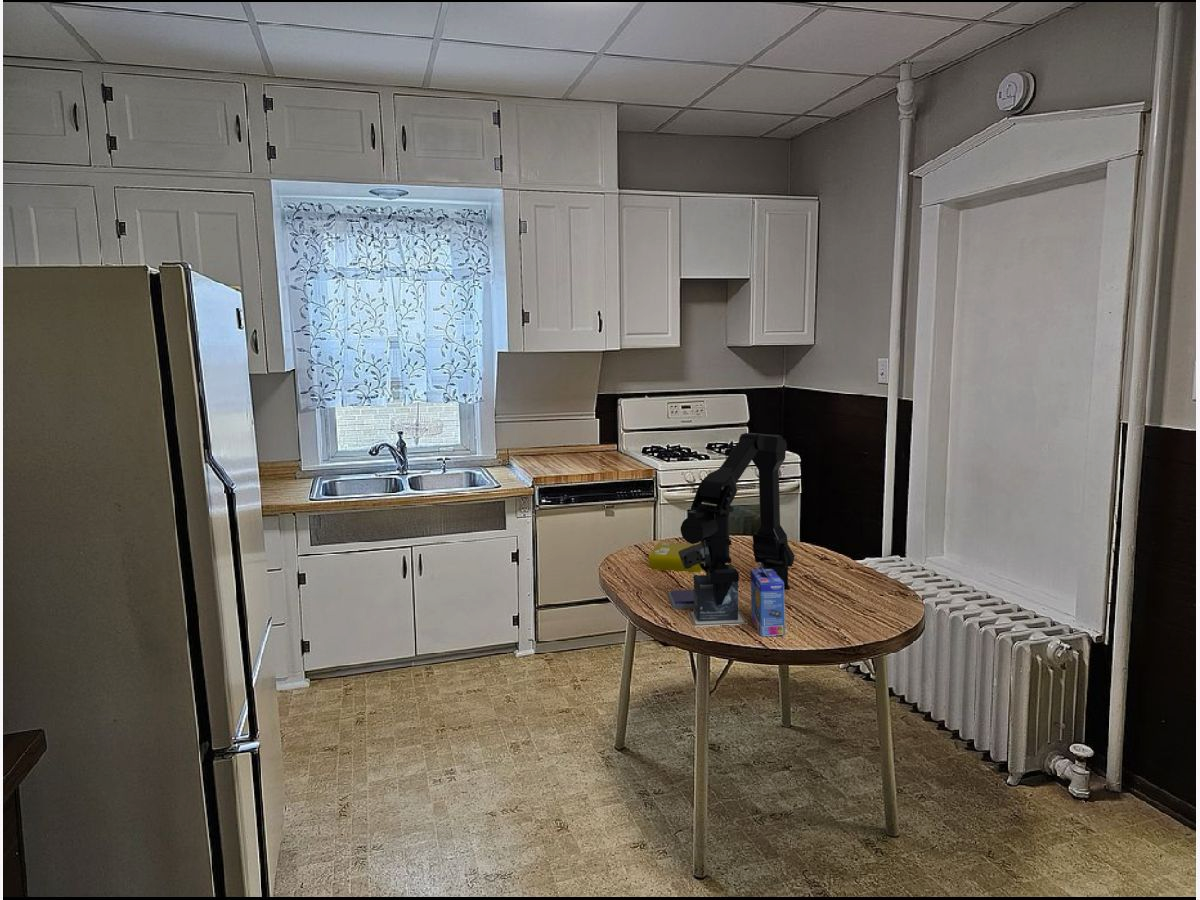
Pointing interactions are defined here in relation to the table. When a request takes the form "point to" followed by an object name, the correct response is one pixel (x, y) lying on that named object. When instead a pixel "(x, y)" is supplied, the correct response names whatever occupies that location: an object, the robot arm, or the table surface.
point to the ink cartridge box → (767, 602)
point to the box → (714, 601)
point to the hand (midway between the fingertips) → (716, 600)
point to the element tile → (669, 557)
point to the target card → (716, 623)
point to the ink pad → (682, 599)
